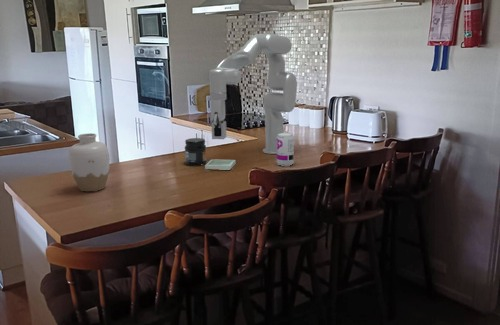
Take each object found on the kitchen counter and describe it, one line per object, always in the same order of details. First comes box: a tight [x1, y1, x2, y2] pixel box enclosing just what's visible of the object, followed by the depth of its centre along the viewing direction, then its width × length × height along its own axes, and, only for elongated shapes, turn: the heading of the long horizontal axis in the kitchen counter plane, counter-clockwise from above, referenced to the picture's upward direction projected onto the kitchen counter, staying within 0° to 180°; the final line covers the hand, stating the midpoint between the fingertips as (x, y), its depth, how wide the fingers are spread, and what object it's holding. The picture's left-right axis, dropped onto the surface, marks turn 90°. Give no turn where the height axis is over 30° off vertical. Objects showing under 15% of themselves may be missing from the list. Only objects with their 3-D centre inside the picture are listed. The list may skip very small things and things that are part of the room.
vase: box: [68, 133, 111, 192], centre depth 200 cm, size 16×16×23 cm
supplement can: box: [276, 132, 295, 167], centre depth 233 cm, size 8×8×15 cm
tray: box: [204, 158, 237, 170], centre depth 232 cm, size 12×12×2 cm
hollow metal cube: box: [211, 120, 227, 140], centre depth 228 cm, size 6×6×8 cm
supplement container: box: [184, 137, 208, 166], centre depth 239 cm, size 10×10×12 cm
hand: (219, 134), depth 228 cm, fingers closed on hollow metal cube, 5 cm apart
